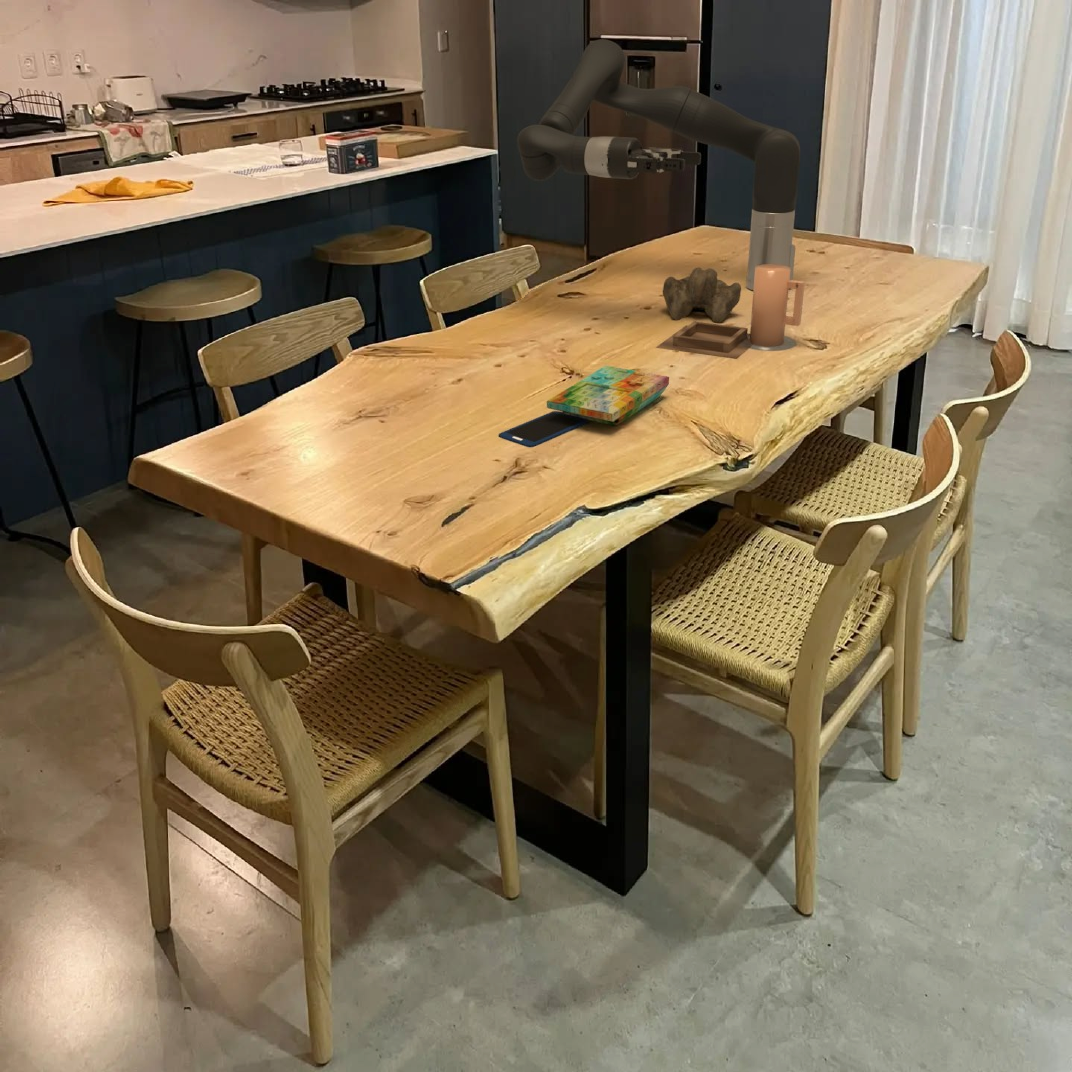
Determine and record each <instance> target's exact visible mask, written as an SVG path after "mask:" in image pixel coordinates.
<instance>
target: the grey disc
mask: <svg viewBox="0 0 1072 1072" xmlns="http://www.w3.org/2000/svg"><path fill="white" fill-rule="evenodd" d="M749 338H750V335H749V336H747V338H746V340H747V339H748V340H750V339H749ZM746 340H745V339H744V340H743V341H745V342H744V343H747V344H745V345H746V347H747V346H748V345H749V346H750V345H751V344H748V343H750V342H749V341H748V342H747V341H746ZM740 344H741V345H742V346H744V347H745V345H744V344H743V342H741V343H740ZM797 344H798V343H797V341H796V340H795V339H794V338H792V337H789V336H787V335H784V343H783V344H782V345H780V346H775V347H762V346H757V345H751V347H750V348H749V349H751V350H755V351H761V352H763V351H764V352H779V351H780V352H781V351H787V350H790V349H793V348H795V347H796V346H797ZM747 348H748V347H747Z"/></svg>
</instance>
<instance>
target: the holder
mask: <svg viewBox="0 0 1072 1072" xmlns="http://www.w3.org/2000/svg"><path fill="white" fill-rule="evenodd" d="M749 335H750V333H748V327H744V326H743V327H742V326H741V327H740V326H733V325H726V324H725V325H724V324H720V323H710V322H703V321H701V322H700V321H694V320H693V321H692V322H691V323H690V324H688V325H684V326H683V327H682V328H680V329H679V330H678V331H676V332H675V333H674V334H672V335H671V336H669V337H668V338H666V339H665V340H663V342H661V343H660V344H658V345H657V346H655V348H656V349H663V350H669V351H676V352H677V351H678V352H683V353H690V354H696V355H705V356H706V355H707V356H712V357H720V358H727V359H734V360H738V359H739V358H740V357H741V356H742V355H743V354H745V352H747V351H748V350H749V349H750V347H751V345H753V344H751V343H748V344H751V345H750V346H749V345H748V346H747V347H748V348H747V347H746V345H745V344H747V343H744V342H745V341H743V340H744V339H745V340H746V338H747V336H749ZM749 339H750V338H749ZM746 341H747V342H748V341H749V342H750V340H748V339H747V340H746ZM741 342H743V344H744V345H745V347H744V346H742V345H741V344H740V343H741Z"/></svg>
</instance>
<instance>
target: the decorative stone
mask: <svg viewBox="0 0 1072 1072" xmlns="http://www.w3.org/2000/svg"><path fill="white" fill-rule="evenodd" d="M662 287H663V288H662V295H663V298H664V302H665V304H666V308H667V311H668V313H669V314H670V318H671V319H672V320H674V321H680V320H681V319H683V318H686V317H689V316H690V314H691V313H692V310H697V309H701V310H700V311H704V312H705V314H706V315H707V316H708V317H709V318H710V319H711V321H712V322H714V323H716V324H721V323H722V322H723V321H724V320H725V319H726V318H727V317H728V316H729V315H730V313H731V312H732V310H733V309H734V308H735V307H736V306H737V305H738V304H739V302H740V299H741V292H742V285H741V284H740V283H739V282H734V283H732V284H730V285H728V284H727V283H726V282H725V281H723V280H721V279H718V272H717V270H716V269H714V268H707V269H702V268H701V267H695V268H693V270H692V271H691V273H690V274H689V275H688V276H685V277H682V278H680V279H676V278H675V276H668V277H667V278H666V279H665V280H664V282H663V286H662Z"/></svg>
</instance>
